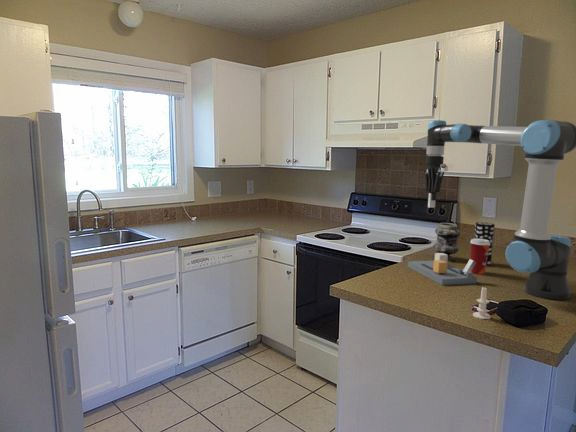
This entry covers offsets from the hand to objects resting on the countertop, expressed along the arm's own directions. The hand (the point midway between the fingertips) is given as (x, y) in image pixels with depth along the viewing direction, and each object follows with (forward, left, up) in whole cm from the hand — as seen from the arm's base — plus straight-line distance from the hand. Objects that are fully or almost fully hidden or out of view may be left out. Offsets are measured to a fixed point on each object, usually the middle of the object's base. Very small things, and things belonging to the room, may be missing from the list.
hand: (431, 207), depth 191 cm
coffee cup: (-12, -18, -29) cm, 36 cm away
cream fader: (-6, -3, -25) cm, 26 cm away
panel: (-12, +1, -28) cm, 31 cm away
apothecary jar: (+13, -18, -29) cm, 36 cm away
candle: (-58, +15, -29) cm, 66 cm away
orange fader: (-18, +5, -25) cm, 31 cm away
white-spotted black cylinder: (+1, -30, -29) cm, 41 cm away
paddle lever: (-23, -4, -25) cm, 34 cm away
